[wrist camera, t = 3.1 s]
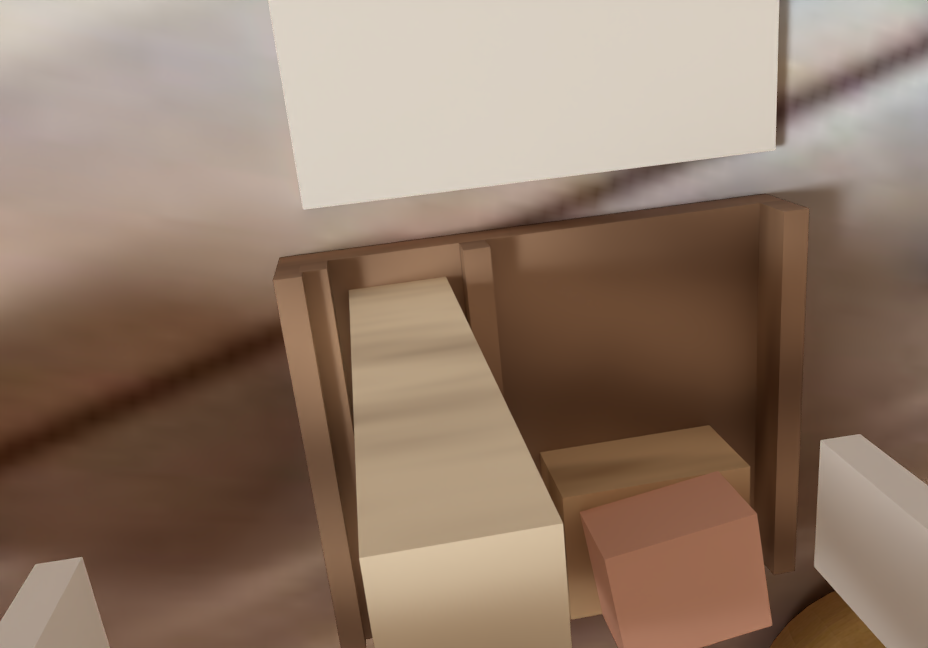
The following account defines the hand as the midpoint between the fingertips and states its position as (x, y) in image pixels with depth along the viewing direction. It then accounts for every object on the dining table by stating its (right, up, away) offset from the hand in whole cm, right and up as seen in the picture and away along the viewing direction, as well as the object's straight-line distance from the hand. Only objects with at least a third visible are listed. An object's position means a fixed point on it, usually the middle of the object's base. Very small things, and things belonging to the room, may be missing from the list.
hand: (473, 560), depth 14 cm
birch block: (-2, +1, +12) cm, 12 cm away
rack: (+3, +1, +14) cm, 14 cm away
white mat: (+2, +12, +10) cm, 16 cm away
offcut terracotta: (+6, -3, +11) cm, 13 cm away
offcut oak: (+6, -2, +14) cm, 15 cm away
